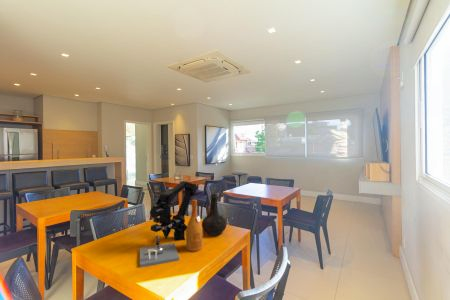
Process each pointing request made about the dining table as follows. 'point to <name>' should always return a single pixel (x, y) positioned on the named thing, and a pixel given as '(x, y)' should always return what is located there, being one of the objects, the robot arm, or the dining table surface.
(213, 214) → the glass bottle
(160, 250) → the grey metal rounded piece
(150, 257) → the stand
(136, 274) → the dining table surface
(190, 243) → the brown tall rounded piece
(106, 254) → the dining table surface
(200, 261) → the dining table surface
